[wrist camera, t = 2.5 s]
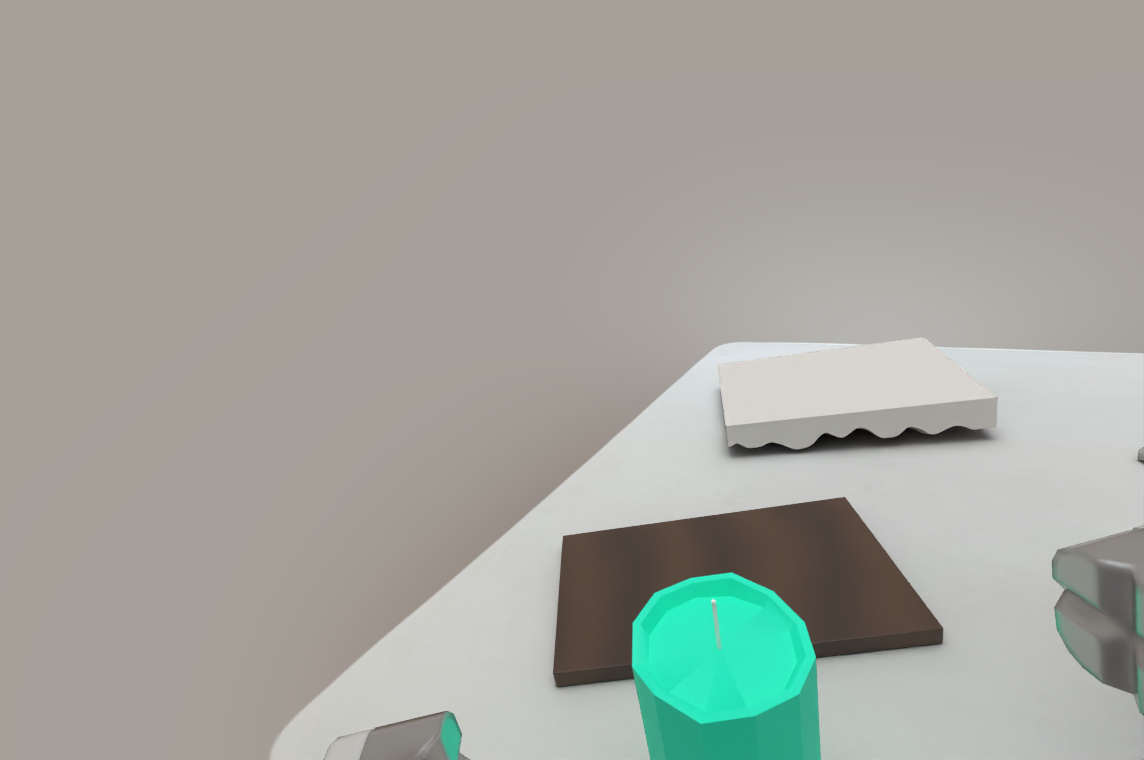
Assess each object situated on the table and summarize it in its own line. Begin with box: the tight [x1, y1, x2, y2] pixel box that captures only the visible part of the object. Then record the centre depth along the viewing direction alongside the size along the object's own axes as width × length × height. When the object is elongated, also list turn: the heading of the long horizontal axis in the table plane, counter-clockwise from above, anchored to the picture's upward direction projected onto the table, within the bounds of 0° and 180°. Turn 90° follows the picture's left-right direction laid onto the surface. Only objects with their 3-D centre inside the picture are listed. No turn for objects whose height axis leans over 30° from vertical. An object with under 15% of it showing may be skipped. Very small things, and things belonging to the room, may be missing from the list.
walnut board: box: [553, 497, 943, 687], centre depth 36 cm, size 20×12×1 cm, turn 88°
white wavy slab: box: [718, 337, 997, 449], centre depth 53 cm, size 15×3×20 cm
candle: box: [632, 572, 821, 760], centre depth 21 cm, size 6×6×12 cm
